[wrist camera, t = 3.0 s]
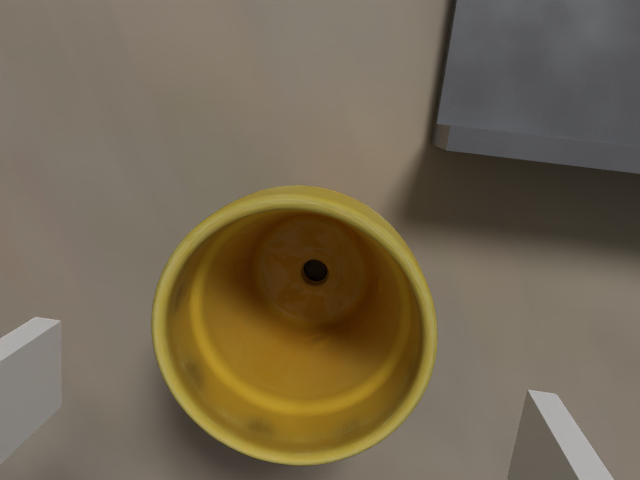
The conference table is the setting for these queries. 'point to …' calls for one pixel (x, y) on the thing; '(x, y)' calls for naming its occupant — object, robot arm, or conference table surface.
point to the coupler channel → (543, 82)
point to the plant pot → (295, 326)
